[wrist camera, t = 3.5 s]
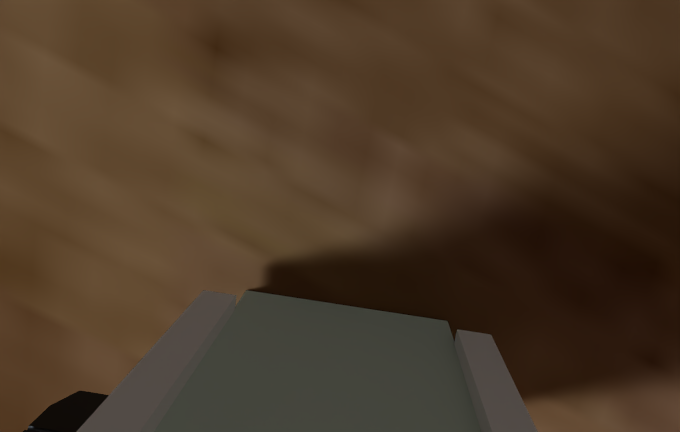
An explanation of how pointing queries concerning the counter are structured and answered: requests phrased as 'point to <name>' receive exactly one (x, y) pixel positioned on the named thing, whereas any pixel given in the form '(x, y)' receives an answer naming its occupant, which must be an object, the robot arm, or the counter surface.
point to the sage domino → (324, 373)
